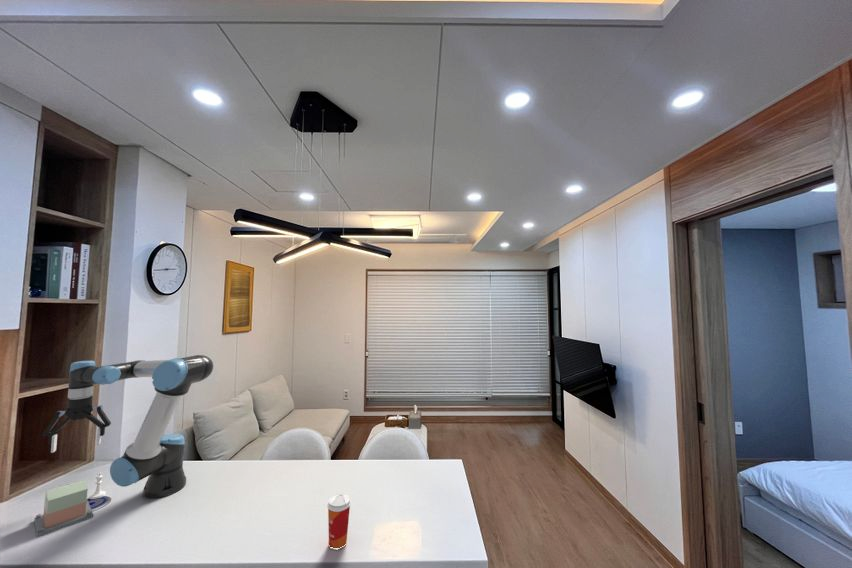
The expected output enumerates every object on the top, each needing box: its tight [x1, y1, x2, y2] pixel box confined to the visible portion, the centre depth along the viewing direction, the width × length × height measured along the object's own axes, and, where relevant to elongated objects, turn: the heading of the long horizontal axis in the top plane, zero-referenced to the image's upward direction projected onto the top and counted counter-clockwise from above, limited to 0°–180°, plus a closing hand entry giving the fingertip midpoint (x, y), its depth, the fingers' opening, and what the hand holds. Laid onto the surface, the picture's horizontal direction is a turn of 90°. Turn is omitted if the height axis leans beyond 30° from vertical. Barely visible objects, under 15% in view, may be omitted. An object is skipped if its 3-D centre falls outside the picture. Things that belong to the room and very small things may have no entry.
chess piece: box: [89, 471, 106, 500], centre depth 138 cm, size 5×5×10 cm
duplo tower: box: [33, 479, 94, 538], centre depth 123 cm, size 14×14×11 cm
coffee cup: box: [326, 494, 352, 548], centre depth 113 cm, size 8×8×15 cm
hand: (76, 447), depth 137 cm, fingers open, 13 cm apart
